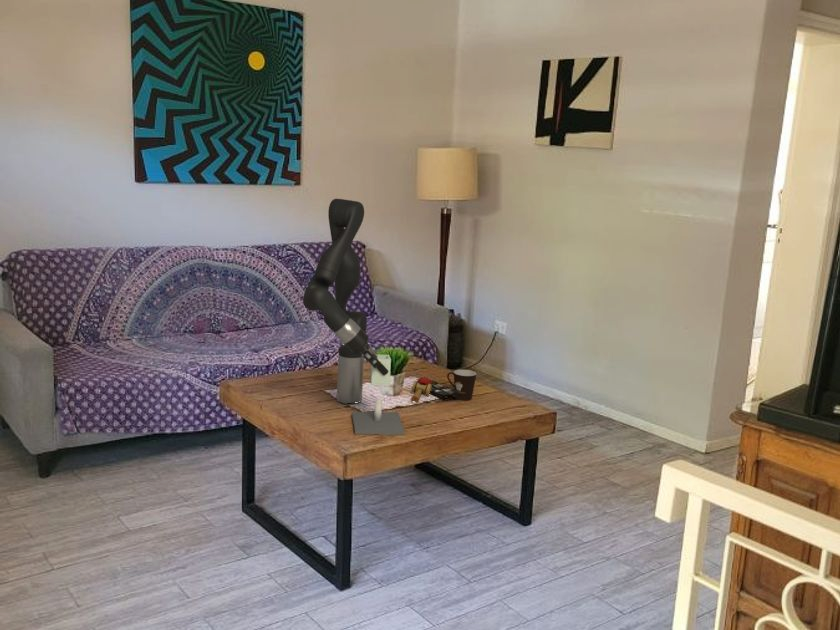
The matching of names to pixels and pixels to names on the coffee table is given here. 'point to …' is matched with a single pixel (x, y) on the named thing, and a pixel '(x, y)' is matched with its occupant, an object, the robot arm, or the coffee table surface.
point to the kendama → (421, 388)
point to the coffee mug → (463, 384)
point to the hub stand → (377, 422)
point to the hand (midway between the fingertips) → (385, 370)
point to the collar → (376, 375)
